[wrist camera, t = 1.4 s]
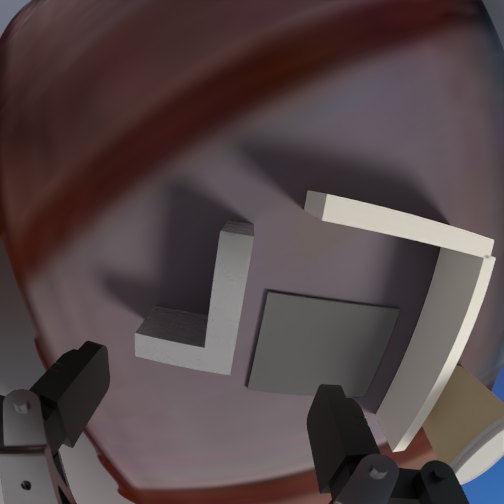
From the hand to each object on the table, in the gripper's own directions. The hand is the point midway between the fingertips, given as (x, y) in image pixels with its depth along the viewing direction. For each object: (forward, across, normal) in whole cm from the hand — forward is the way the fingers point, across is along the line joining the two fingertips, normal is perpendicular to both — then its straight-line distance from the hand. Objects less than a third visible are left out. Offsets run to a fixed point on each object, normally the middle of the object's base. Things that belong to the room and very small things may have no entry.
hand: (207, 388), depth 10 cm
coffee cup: (+14, -26, +11) cm, 31 cm away
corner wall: (+14, -12, +3) cm, 18 cm away
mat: (+14, -9, +6) cm, 17 cm away
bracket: (+14, +2, +1) cm, 14 cm away
